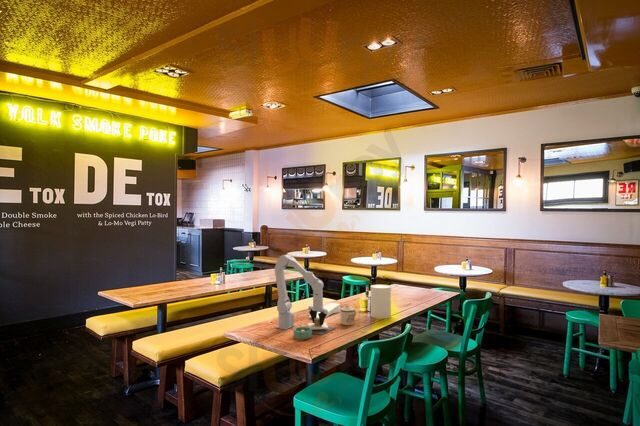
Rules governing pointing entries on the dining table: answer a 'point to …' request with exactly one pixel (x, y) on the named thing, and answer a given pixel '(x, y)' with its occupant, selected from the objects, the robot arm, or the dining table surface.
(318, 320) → the cover
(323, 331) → the mat
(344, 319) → the teacup with lid
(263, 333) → the dining table surface
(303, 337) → the bowl
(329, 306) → the white wedge ramp
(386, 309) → the canister
